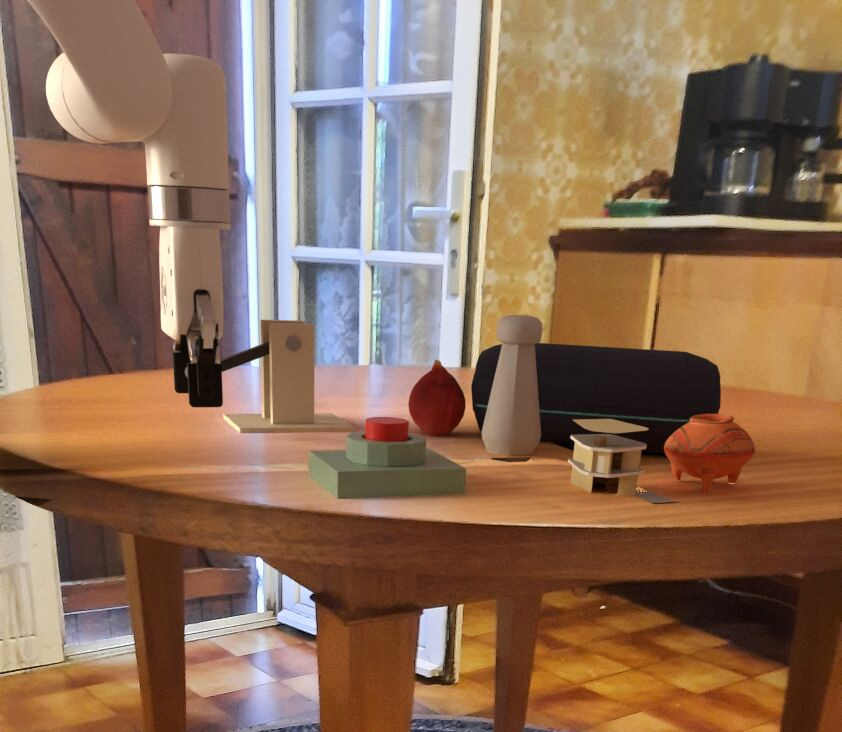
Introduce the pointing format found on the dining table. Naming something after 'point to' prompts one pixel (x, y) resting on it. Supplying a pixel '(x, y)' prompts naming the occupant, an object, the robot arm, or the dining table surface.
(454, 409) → the onion
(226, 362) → the lever switch
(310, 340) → the wooden lever stand
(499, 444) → the salt shaker
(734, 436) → the pot
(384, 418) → the button
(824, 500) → the dining table surface
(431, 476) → the socket block
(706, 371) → the portable speaker
